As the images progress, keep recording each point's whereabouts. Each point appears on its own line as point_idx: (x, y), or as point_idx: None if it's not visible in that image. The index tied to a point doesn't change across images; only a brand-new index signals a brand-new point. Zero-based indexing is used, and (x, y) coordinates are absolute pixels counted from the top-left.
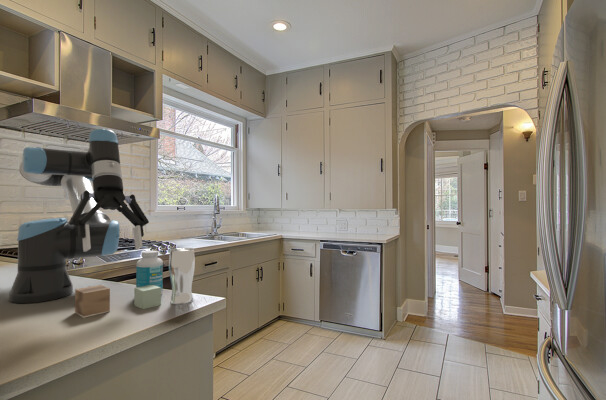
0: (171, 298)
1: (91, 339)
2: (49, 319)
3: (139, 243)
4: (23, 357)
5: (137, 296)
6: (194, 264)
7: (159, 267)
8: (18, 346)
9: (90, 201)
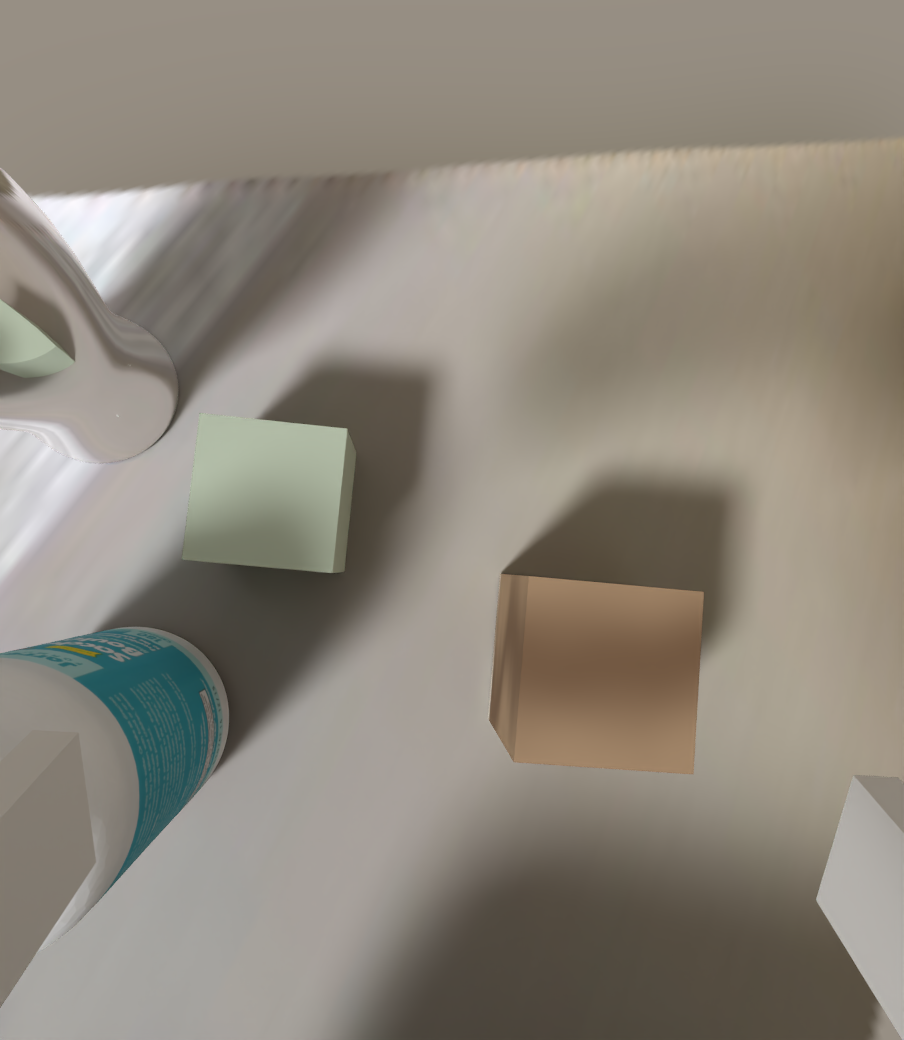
0: (157, 410)
1: (736, 246)
2: (754, 720)
3: (40, 783)
4: None
5: (343, 523)
6: None
7: None
8: None
9: None
